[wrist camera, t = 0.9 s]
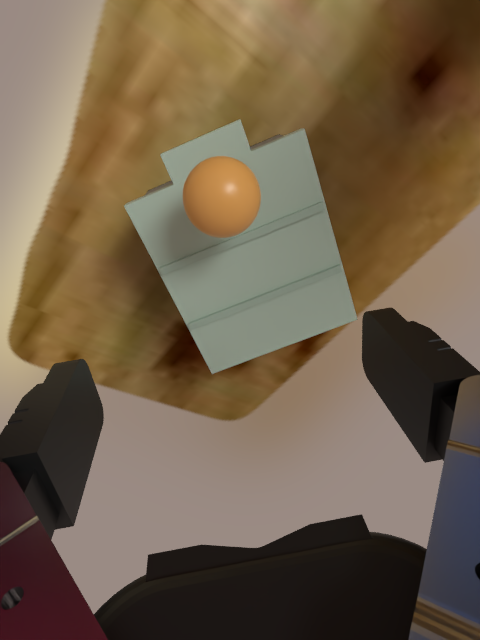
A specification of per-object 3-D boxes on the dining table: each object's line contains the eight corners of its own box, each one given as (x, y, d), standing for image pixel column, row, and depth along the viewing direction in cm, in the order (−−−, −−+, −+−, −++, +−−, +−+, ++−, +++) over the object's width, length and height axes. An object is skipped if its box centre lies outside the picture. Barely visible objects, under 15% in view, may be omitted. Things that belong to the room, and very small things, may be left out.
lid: (292, 95, 23) (325, 90, 17) (353, 314, 30) (393, 367, 24) (111, 175, 24) (81, 197, 18) (211, 368, 31) (214, 431, 25)
